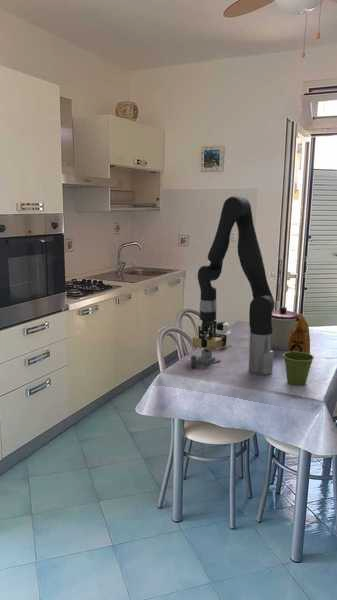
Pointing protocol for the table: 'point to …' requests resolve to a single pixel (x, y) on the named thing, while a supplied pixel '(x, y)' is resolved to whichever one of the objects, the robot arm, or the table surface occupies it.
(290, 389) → the table surface
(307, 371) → the plant pot
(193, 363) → the stand rod
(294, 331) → the coffee package
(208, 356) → the hub
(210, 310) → the robot arm
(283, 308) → the canister
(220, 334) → the medicine bottle
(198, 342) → the yellow oblong bowl
